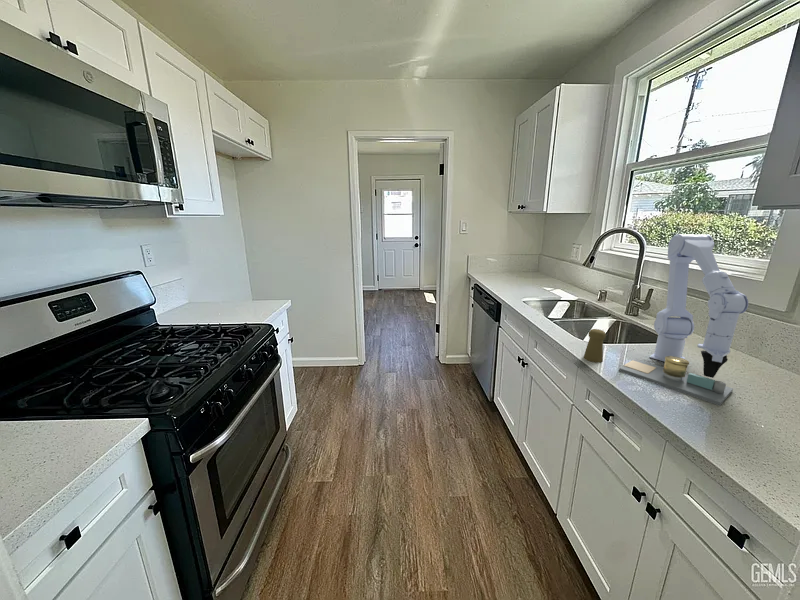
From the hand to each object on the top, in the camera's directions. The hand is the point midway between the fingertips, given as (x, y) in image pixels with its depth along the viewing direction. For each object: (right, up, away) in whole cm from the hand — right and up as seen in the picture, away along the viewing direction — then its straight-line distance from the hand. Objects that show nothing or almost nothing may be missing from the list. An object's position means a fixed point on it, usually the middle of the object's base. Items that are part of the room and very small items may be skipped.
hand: (708, 376), depth 99 cm
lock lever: (-3, -3, -2) cm, 5 cm away
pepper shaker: (-24, +2, +19) cm, 30 cm away
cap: (-8, 0, +3) cm, 8 cm away
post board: (-8, -2, +4) cm, 9 cm away
